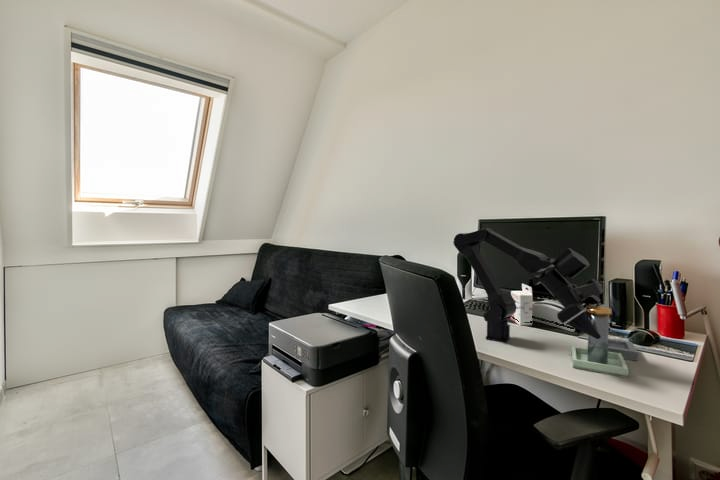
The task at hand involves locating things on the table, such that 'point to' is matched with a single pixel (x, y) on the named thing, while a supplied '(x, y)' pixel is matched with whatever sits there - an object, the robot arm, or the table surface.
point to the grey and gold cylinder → (601, 324)
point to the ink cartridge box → (523, 305)
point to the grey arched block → (548, 313)
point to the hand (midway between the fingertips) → (604, 334)
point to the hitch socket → (623, 349)
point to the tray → (613, 368)
